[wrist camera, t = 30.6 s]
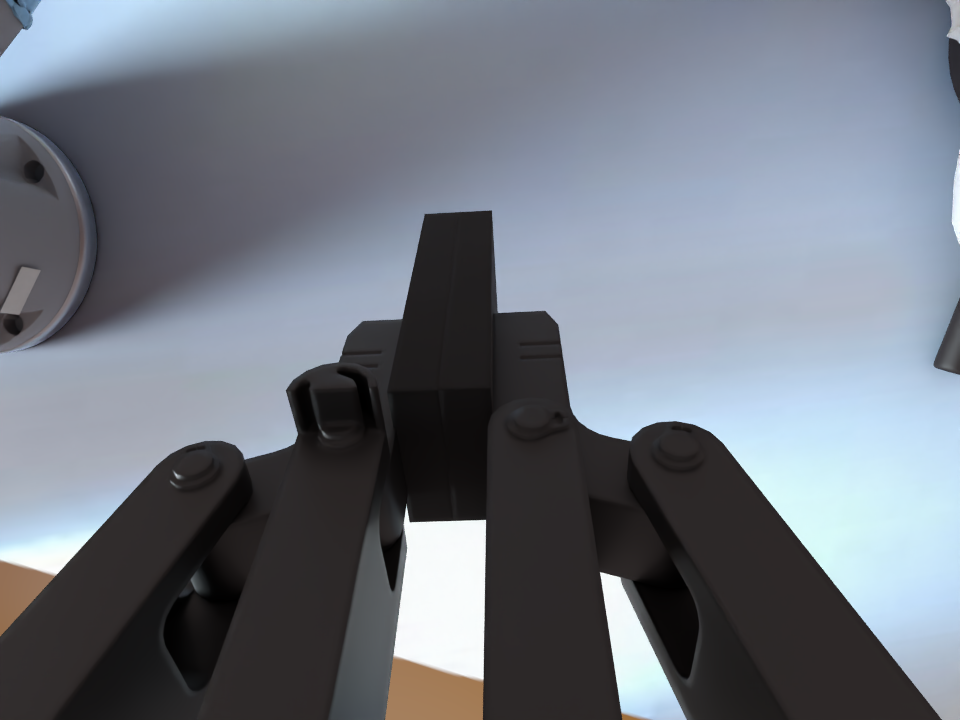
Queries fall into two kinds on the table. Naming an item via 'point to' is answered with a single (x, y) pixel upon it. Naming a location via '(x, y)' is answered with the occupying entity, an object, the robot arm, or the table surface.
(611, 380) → the table surface
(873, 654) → the robot arm
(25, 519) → the table surface
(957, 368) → the magnifying glass
